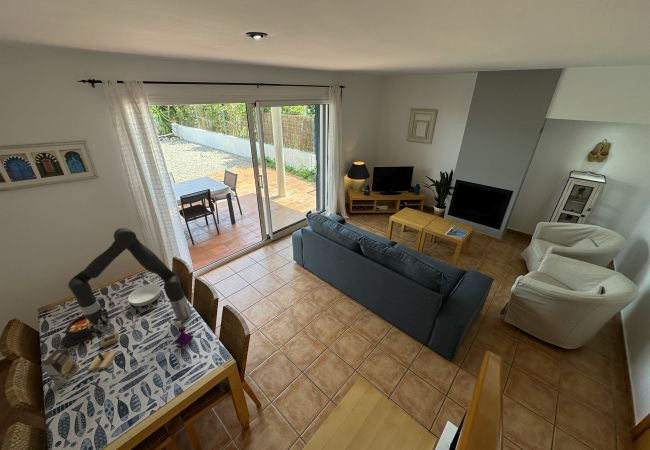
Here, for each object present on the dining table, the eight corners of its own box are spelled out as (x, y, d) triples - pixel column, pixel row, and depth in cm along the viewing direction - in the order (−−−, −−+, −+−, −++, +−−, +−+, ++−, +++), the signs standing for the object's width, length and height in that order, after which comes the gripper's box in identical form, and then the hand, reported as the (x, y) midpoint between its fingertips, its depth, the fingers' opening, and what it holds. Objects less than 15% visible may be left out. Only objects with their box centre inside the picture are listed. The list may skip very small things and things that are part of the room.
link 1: (113, 327, 153) (112, 323, 151) (108, 334, 148) (106, 330, 147) (99, 328, 152) (97, 324, 150) (93, 336, 147) (91, 332, 146)
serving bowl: (155, 286, 209) (152, 280, 206) (168, 297, 198) (165, 290, 195) (126, 302, 194) (123, 295, 191) (138, 314, 183) (135, 307, 180)
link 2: (118, 335, 168) (117, 332, 166) (118, 341, 164) (117, 338, 162) (103, 341, 164) (101, 338, 162) (103, 347, 160) (101, 344, 158)
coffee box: (67, 383, 141) (52, 364, 133) (55, 383, 140) (39, 365, 133) (80, 367, 149) (67, 348, 141) (68, 367, 148) (54, 349, 141)
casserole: (101, 313, 184) (96, 305, 180) (115, 323, 176) (110, 315, 172) (56, 340, 165) (49, 331, 161) (70, 353, 157) (63, 343, 153)
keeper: (117, 352, 157) (113, 345, 154) (108, 367, 148) (103, 360, 145) (99, 354, 156) (94, 347, 153) (89, 370, 147) (84, 363, 144)
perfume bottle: (194, 339, 165) (187, 319, 157) (185, 349, 159) (177, 329, 150) (185, 336, 167) (178, 316, 159) (176, 345, 161) (167, 325, 153)
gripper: (90, 318, 136) (102, 340, 144) (106, 299, 148) (117, 320, 156) (74, 319, 135) (87, 341, 143) (92, 300, 147) (103, 321, 155)
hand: (103, 330), depth 149 cm, fingers closed on link 1, 5 cm apart
